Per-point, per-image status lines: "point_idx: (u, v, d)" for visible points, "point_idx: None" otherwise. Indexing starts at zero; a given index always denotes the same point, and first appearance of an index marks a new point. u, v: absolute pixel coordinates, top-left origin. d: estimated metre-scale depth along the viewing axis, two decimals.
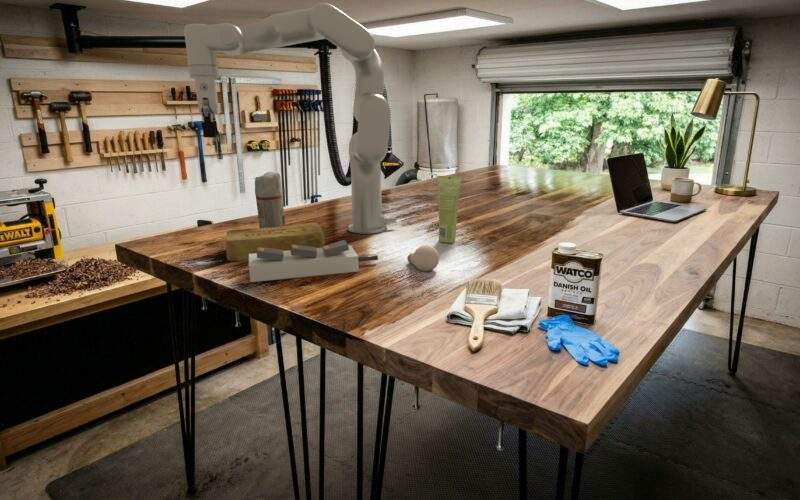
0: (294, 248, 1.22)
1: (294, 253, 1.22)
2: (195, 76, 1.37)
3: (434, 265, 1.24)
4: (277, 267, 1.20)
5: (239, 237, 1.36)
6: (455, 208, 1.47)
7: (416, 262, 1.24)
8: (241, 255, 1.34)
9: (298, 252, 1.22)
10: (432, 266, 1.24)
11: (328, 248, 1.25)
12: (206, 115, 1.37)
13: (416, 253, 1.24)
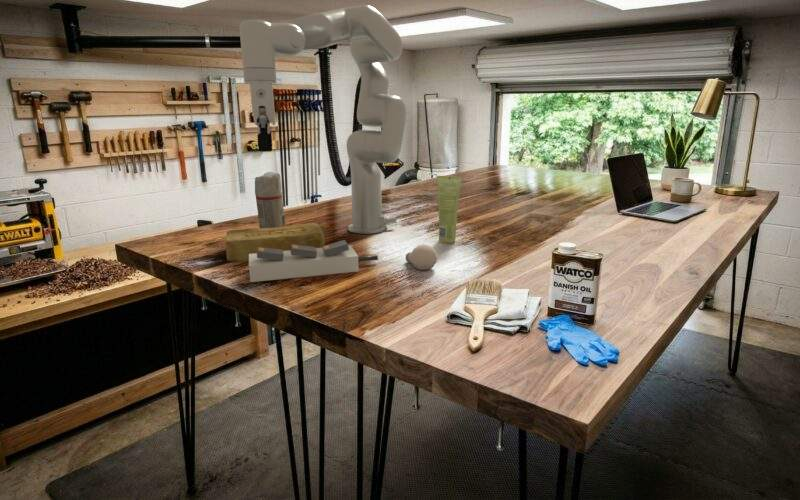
0: (294, 248, 1.22)
1: (294, 253, 1.22)
2: (251, 81, 1.19)
3: (431, 264, 1.25)
4: (277, 267, 1.20)
5: (239, 237, 1.35)
6: (455, 208, 1.47)
7: (414, 261, 1.25)
8: (241, 256, 1.34)
9: (298, 252, 1.22)
10: (430, 265, 1.25)
11: (328, 248, 1.25)
12: (263, 126, 1.18)
13: (414, 252, 1.25)
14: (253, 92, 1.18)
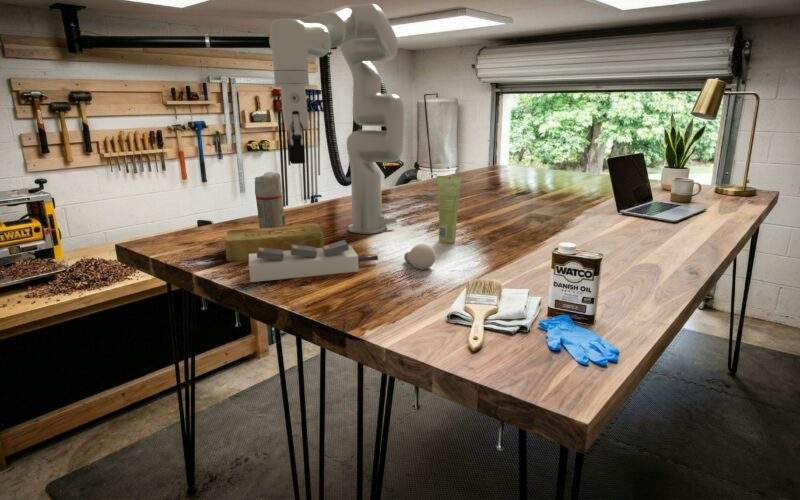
0: (294, 248, 1.22)
1: (294, 253, 1.22)
2: (283, 84, 1.10)
3: (430, 264, 1.25)
4: (277, 267, 1.20)
5: (238, 237, 1.36)
6: (455, 208, 1.47)
7: (412, 260, 1.26)
8: (240, 256, 1.34)
9: (298, 252, 1.22)
10: (428, 264, 1.25)
11: (328, 248, 1.25)
12: (297, 139, 1.13)
13: (412, 251, 1.26)
14: (286, 96, 1.10)
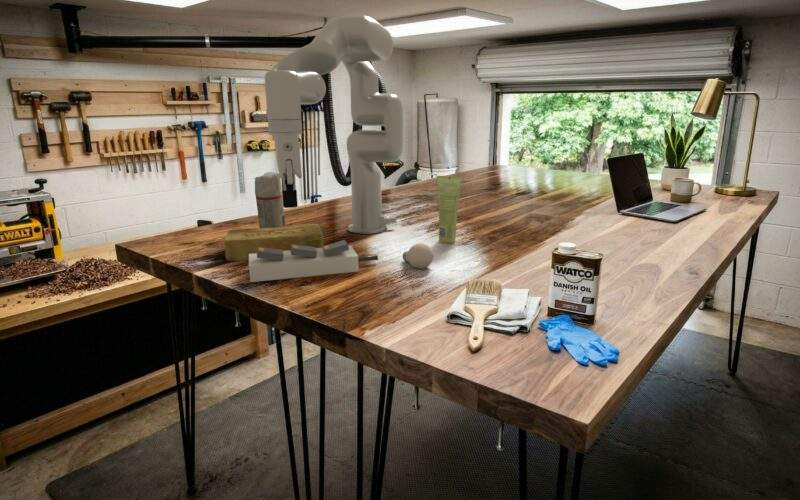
0: (294, 248, 1.22)
1: (294, 253, 1.22)
2: (277, 133, 1.12)
3: (428, 263, 1.26)
4: (277, 267, 1.20)
5: (238, 237, 1.36)
6: (455, 208, 1.47)
7: (410, 260, 1.26)
8: (239, 255, 1.34)
9: (298, 252, 1.22)
10: (426, 264, 1.26)
11: (328, 248, 1.25)
12: (289, 185, 1.16)
13: (410, 251, 1.26)
14: (279, 145, 1.12)
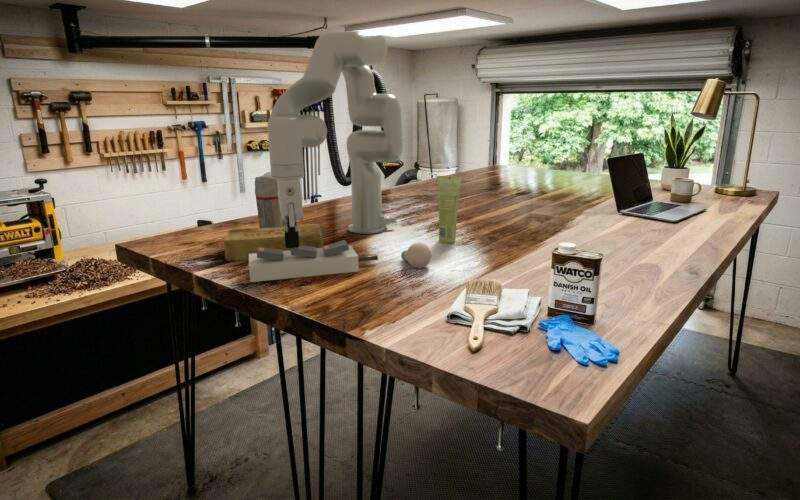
0: (294, 248, 1.22)
1: (294, 253, 1.22)
2: (279, 178, 1.15)
3: (426, 262, 1.27)
4: (277, 267, 1.20)
5: (238, 237, 1.36)
6: (455, 208, 1.47)
7: (409, 259, 1.27)
8: (239, 255, 1.35)
9: (298, 252, 1.22)
10: (425, 263, 1.26)
11: (328, 248, 1.25)
12: (291, 227, 1.19)
13: (409, 250, 1.27)
14: (282, 190, 1.15)
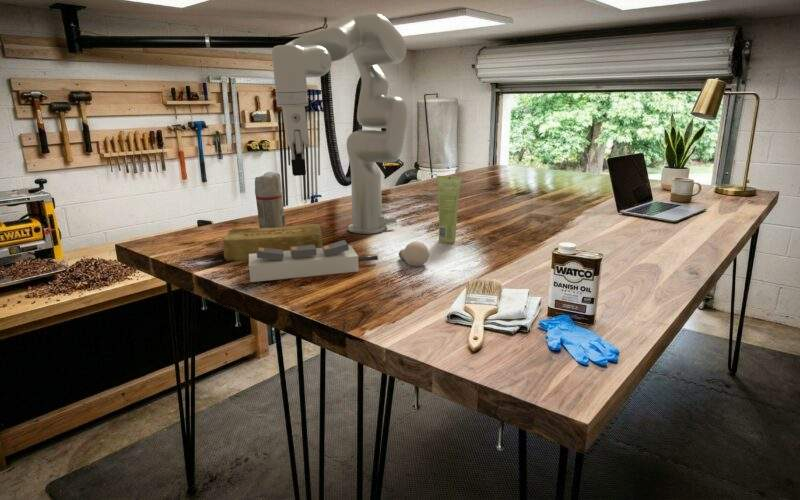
0: (293, 250, 1.22)
1: (294, 255, 1.22)
2: (285, 105, 1.20)
3: (423, 261, 1.28)
4: (277, 267, 1.20)
5: (237, 237, 1.36)
6: (455, 208, 1.47)
7: (406, 258, 1.28)
8: (237, 255, 1.35)
9: (297, 254, 1.22)
10: (422, 262, 1.27)
11: (328, 248, 1.25)
12: (298, 154, 1.25)
13: (406, 249, 1.28)
14: (288, 116, 1.20)
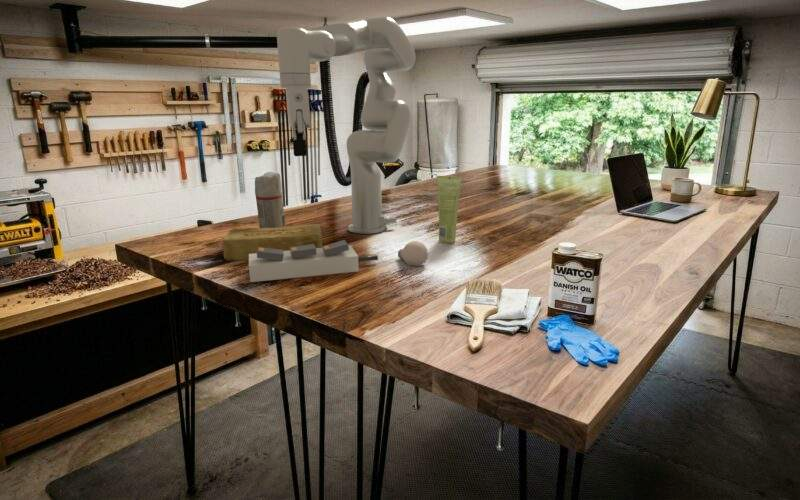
0: (293, 251, 1.22)
1: (294, 256, 1.22)
2: (288, 85, 1.24)
3: (422, 260, 1.28)
4: (277, 267, 1.20)
5: (237, 237, 1.36)
6: (455, 208, 1.47)
7: (405, 257, 1.28)
8: (237, 255, 1.35)
9: (297, 254, 1.22)
10: (421, 261, 1.28)
11: (328, 248, 1.25)
12: (299, 134, 1.28)
13: (405, 248, 1.28)
14: (291, 96, 1.23)
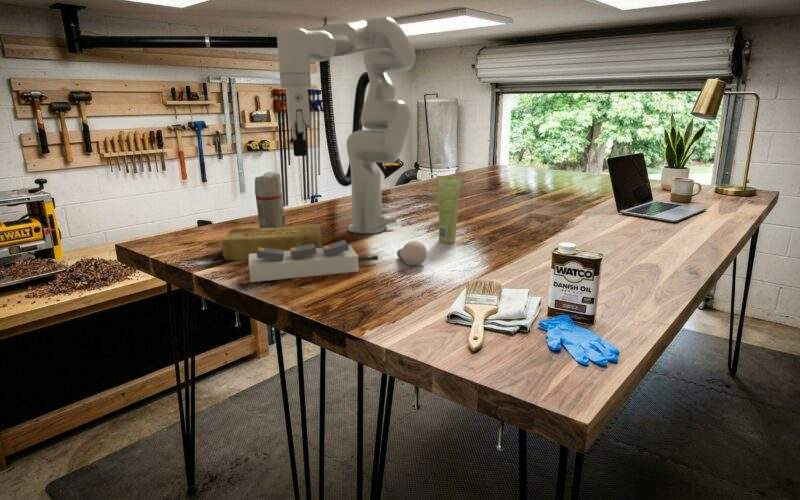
0: (293, 251, 1.22)
1: (294, 256, 1.22)
2: (288, 85, 1.24)
3: (421, 260, 1.28)
4: (277, 267, 1.20)
5: (237, 236, 1.36)
6: (455, 208, 1.47)
7: (404, 257, 1.28)
8: (237, 255, 1.35)
9: (297, 254, 1.22)
10: (420, 261, 1.28)
11: (328, 248, 1.25)
12: (299, 134, 1.28)
13: (404, 248, 1.29)
14: (291, 96, 1.23)
